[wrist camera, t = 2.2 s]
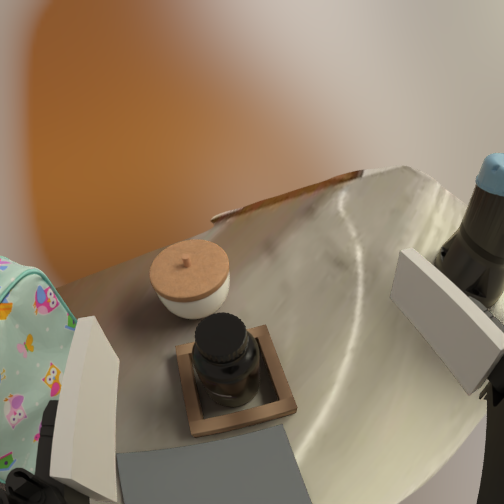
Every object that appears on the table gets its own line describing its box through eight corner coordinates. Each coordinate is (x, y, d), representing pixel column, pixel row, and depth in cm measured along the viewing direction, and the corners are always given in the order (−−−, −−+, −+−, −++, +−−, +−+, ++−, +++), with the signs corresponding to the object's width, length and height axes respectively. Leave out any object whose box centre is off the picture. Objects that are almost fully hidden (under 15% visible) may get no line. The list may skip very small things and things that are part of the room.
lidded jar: (181, 270, 49) (168, 226, 43) (243, 282, 46) (238, 235, 40) (152, 322, 41) (130, 279, 35) (220, 340, 39) (208, 296, 33)
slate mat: (282, 425, 30) (282, 423, 29) (321, 528, 20) (322, 529, 19) (118, 454, 27) (116, 453, 26) (140, 556, 16) (138, 557, 16)
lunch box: (64, 328, 40) (-7, 225, 26) (111, 346, 38) (35, 230, 24) (0, 462, 21) (-112, 393, 7) (44, 500, 19) (-90, 448, 5)
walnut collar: (266, 332, 39) (265, 324, 38) (296, 412, 31) (297, 407, 29) (179, 353, 37) (175, 346, 36) (195, 437, 29) (191, 434, 28)
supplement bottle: (212, 414, 31) (187, 374, 23) (200, 366, 36) (177, 312, 28) (268, 400, 32) (267, 354, 24) (252, 353, 37) (246, 295, 29)
